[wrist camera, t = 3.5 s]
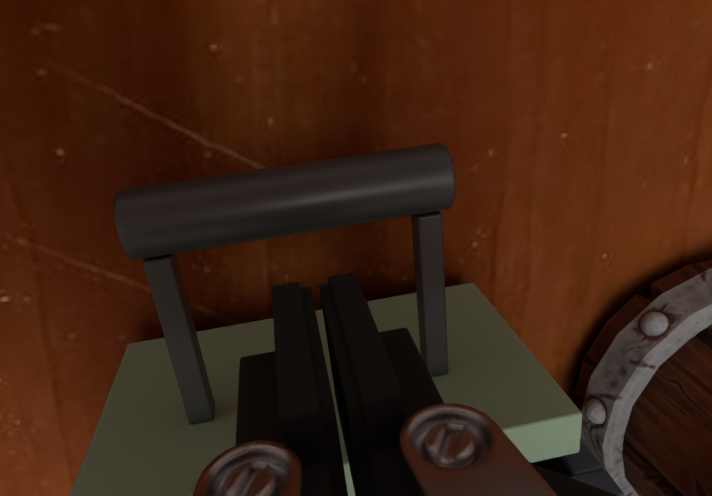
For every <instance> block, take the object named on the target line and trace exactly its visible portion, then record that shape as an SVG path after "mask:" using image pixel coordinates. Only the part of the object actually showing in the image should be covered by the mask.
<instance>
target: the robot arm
mask: <svg viewBox="0 0 712 496" xmlns="http://www.w3.org/2000/svg"><path fill="white" fill-rule="evenodd" d="M328 280H329V284H325V285H319V290H320V297H321V303H322V310H323V317H324V324H325V330H326V337H327V344H328V350H329V357H330V364H331V371H332V377H333V384H334V391H335V397H336V403H337V409H338V414H339V419H340V424H341V429H342V433H343V438H344V443H345V448H346V453H347V458H348V462H349V467H350V472H351V477H352V482H353V487H354V491H355V496H618V495H615V494H612V493H610V492H607V491H605V490H602V489H599V488H597V487H594V486H591V485H589V484H586V483H583V482H581V481H578V480H575V479H573V478H570V477H567V476H565V475H562V474H559V473H557V472H554V471H552V470H549V469H546V468H544V467H541V466H538V465H536V464H533V463H530V462H529V461H528V460H527V459H526V458H525V457H524V455H523V454H522V453H521V452H520V451H519V449H518V448H517V447H516V446H515V445H514V444H513V442H512V441H511V440H510V439H509V438H508V436H507V435H506V434H505V433H504V432H503V431H502V429H501V428H500V427H499V426H498V425H497V423H496V422H495V421H494V420H492V419H491V418H490V417H489V416H488V415H487V414H485V413H484V412H482V411H479V410H477V409H475V408H473V407H470V406H466V405H461V404H450V403H444V402H443V400H442V398H441V396H440V394H439V392H438V390H437V388H436V386H435V384H434V381H433V379H432V377H431V375H430V373H429V371H428V369H427V367H426V365H425V363H424V361H423V359H422V357H421V355H420V353H419V351H418V349H417V347H416V345H415V343H414V341H413V339H412V337H411V335H410V333H409V331H408V329H407V328H399V329H394V330H388V331H383V332H379V331H378V329H377V326H376V324H375V321H374V319H373V316H372V314H371V311H370V308H369V306H368V303H367V301H366V298H365V296H364V293H363V291H362V288H361V286H360V283H359V280H358V278H357V275H356V273H355V272H354V273H348V274H342V275H336V276H330V277H328ZM272 304H273V322H274V341H275V351H273V352H267V353H262V354H256V355H250V356H245V357H241V358H240V367H239V386H238V405H237V425H236V444H235V446H234V447H232V448H230V449H227V450H226V451H224V452H223V453H221V454H220V455H218V456H217V457H215V458H214V459H213V460H212V461H211V462H210V463H209V464H208V465H207V466H206V468H205V469H204V470H203V471H202V473H201V475H200V477H199V479H198V481H197V483H196V486H195V489H194V492H193V495H192V496H348V492H347V485H346V478H345V472H344V465H343V458H342V452H341V445H340V439H339V432H338V425H337V419H336V413H335V407H334V402H333V396H332V391H331V386H330V381H329V376H328V371H327V366H326V362H325V357H324V352H323V347H322V342H321V337H320V332H319V327H318V322H317V317H316V312H315V307H314V302H313V297H312V292H311V287H308V288H302V289H300V287H299V282H294V283H288V284H282V285H276V286H272Z"/></svg>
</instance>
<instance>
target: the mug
mask: <svg viewBox="0 0 712 496" xmlns="http://www.w3.org/2000/svg"><path fill="white" fill-rule="evenodd" d="M650 290H651V297H650V298H645V297H642V296H640V295H635V296H634V297H633V298H631V299H630V300H629V301H628V302H627V303H626V304H625V305H624V306H623V307H622V308H621V309H620V310H619V311H617V312H616V313H615V314H614V315H613V316H612V317H611V318H610V319H609V320H608V321H607V322H606V323H605V325H604V327H603V328H602V330H601V332H600V333H599V335H598V336H597V338H596V340H595V341H594V343H593V344H592V346H591V348H590V349H589V351H588V352H587V354H586V356H585V357H584V359H583V361H582V365H581V369H580V373H579V378H578V382H577V386H576V390H575V393H576V394H577V395H578V396H579V397H580V398H581V399H582V400H580V401H576V402H575V405H576V407H577V408H578V409H579V410H580V411H581V413H582V426H581V437H582V441H583V442H584V443H585V444H586V446H587V447H588V448H589V450H590V451H591V452H592V453H593V455H594V456H595V457H596V459H597V460H598V461H599V462H600V464H601V465H602V467H603V469H605V470H606V471H607V472H608V473H609V474H610V476H611V477H612V478H613V480H614V481H615V482H616V483H617V485H618V486H619V487H620V489H621V490H622V491H623V492H624V495H625V496H712V260H710V261H705V262H700V263H695V264H690V265H686V266H684V267H682V268H680V269H678V270H677V271H675V272H673V273H671V274H669V275H667V276H665V277H663V278H661V279H660V280H658V281H656V282H654V283H652V284H650Z"/></svg>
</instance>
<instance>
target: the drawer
mask: <svg viewBox="0 0 712 496" xmlns="http://www.w3.org/2000/svg"><path fill="white" fill-rule="evenodd" d="M455 192H456V181H455V172H454V167H453V163H452V160H451V157H450V154H449V152H448V150H447V148H446V147H445V146H444V145H443V144H440V143H435V144H429V145H422V146H415V147H408V148H401V149H394V150H387V151H381V152H374V153H367V154H360V155H353V156H346V157H340V158H333V159H326V160H319V161H312V162H305V163H298V164H292V165H285V166H278V167H271V168H264V169H257V170H251V171H244V172H237V173H230V174H223V175H216V176H209V177H203V178H196V179H189V180H182V181H175V182H168V183H162V184H155V185H148V186H141V187H134V188H127V189H121V190H120V191H118V192H117V193H116V196H115V201H114V218H115V225H116V230H117V234H118V237H119V240H120V243H121V245H122V248H123V250H124V251H125V253H126V255H127V256H128V257H129V258H130V259H133V260H138V259H144V261H143V265H144V268H145V272H146V275H147V279H148V282H149V286H150V289H151V292H152V296H153V299H154V303H155V306H156V310H157V313H158V317H159V320H160V324H161V327H162V330H163V334H164V338H158V339H153V340H147V341H142V342H136V343H130V344H128V345H127V348H126V350H125V353H124V356H123V358H122V361H121V364H120V366H119V369H118V371H117V374H116V377H115V379H114V382H113V385H112V387H111V390H110V392H109V395H108V398H107V400H106V403H105V405H104V408H103V411H102V413H101V416H100V419H99V421H98V424H97V426H96V429H95V432H94V434H93V437H92V440H91V442H90V445H89V447H88V450H87V453H86V455H85V458H84V460H83V463H82V466H81V468H80V471H79V474H78V476H77V479H76V481H75V484H74V487H73V489H72V492H71V495H70V496H192V495H193V492H194V489H195V486H196V483H197V481H198V479H199V477H200V475H201V473H202V471H203V470H204V469H205V468H206V466H207V465H208V464H209V463H210V462H211V461H212V460H213V459H214V458H215V457H217V456H218V455H220V454H221V453H223V452H224V451H226V450H227V449H230V448H232V447H234V446H235V444H236V425H237V405H238V386H239V367H240V358H241V357H245V356H250V355H256V354H262V353H267V352H273V351H275V341H274V322H273V318H271V319H265V320H260V321H254V322H248V323H243V324H237V325H231V326H226V327H220V328H215V329H209V330H203V331H198V332H196V329H195V325H194V321H193V318H192V314H191V310H190V306H189V302H188V298H187V295H186V291H185V287H184V283H183V279H182V275H181V272H180V268H179V264H178V260H177V256H176V253H182V252H188V251H194V250H201V249H207V248H213V247H219V246H225V245H232V244H238V243H244V242H250V241H256V240H263V239H269V238H275V237H281V236H287V235H294V234H300V233H306V232H312V231H319V230H325V229H331V228H337V227H343V226H350V225H356V224H362V223H368V222H374V221H381V220H387V219H393V218H399V217H405V216H411V220H412V235H413V250H414V265H415V280H416V293H411V294H406V295H400V296H394V297H389V298H383V299H377V300H372V301H367V303H368V306H369V308H370V311H371V314H372V316H373V319H374V321H375V324H376V326H377V329H378V331H379V332H383V331H388V330H394V329H399V328H407V329H408V331H409V333H410V335H411V337H412V339H413V341H414V343H415V345H416V347H417V349H418V351H419V353H420V355H421V357H422V359H423V361H424V363H425V365H426V367H427V369H428V371H429V373H430V375H431V377H432V379H433V381H434V384H435V386H436V388H437V390H438V392H439V394H440V396H441V398H442V400H443V402H444V403H450V404H461V405H466V406H470V407H473V408H475V409H477V410H479V411H482V412H484V413H485V414H487V415H488V416H489V417H490V418H491V419H492V420H494V421H495V422H496V423H497V425H498V426H499V427H500V428H501V429H502V431H503V432H504V433H505V434H506V435H507V436H508V438H509V439H510V440H511V441H512V442H513V444H514V445H515V446H516V447H517V448H518V449H519V451H520V452H521V453H522V454H523V455H524V457H525V458H526V459H527V460H528V461H529V462H530V463H534V462H538V461H543V460H547V459H552V458H556V457H561V456H565V455H570V454H574V453H578V452H579V451H580V439H581V426H582V413H581V411H580V410H579V409H578V408H577V407H576V405H575V404H574V403H573V402H572V401H571V399H570V398H569V397H568V396H567V394H566V393H565V392H564V391H563V390H562V388H561V387H560V386H559V385H558V384H557V382H556V381H555V380H554V379H553V378H552V376H551V375H550V374H549V373H548V372H547V370H546V369H545V368H544V367H543V366H542V364H541V363H540V362H539V361H538V360H537V358H536V357H535V356H534V355H533V354H532V352H531V351H530V350H529V349H528V348H527V346H526V345H525V344H524V343H523V342H522V340H521V339H520V338H519V337H518V336H517V334H516V333H515V332H514V331H513V330H512V328H511V327H510V326H509V325H508V324H507V322H506V321H505V320H504V319H503V317H502V316H501V315H500V314H499V313H498V311H497V310H496V309H495V308H494V307H493V305H492V304H491V303H490V302H489V301H488V299H487V298H486V297H485V296H484V295H483V293H482V292H481V291H480V290H479V289H478V287H477V286H476V285H475V284H474V283H467V284H462V285H456V286H450V287H445V277H444V254H443V230H442V214H441V213H440V212H439V211H443V210H448V209H450V208H451V207H452V206H453V203H454V200H455ZM315 312H316V317H317V322H318V327H319V332H320V337H321V342H322V347H323V352H324V357H325V362H326V366H327V371H328V376H329V381H330V386H331V391H332V396H333V402H334V407H335V413H336V419H337V425H338V432H339V439H340V445H341V452H342V458H343V465H344V472H345V478H346V485H347V492H348V496H355V491H354V487H353V482H352V477H351V472H350V467H349V462H348V458H347V453H346V448H345V443H344V438H343V433H342V429H341V424H340V419H339V414H338V409H337V403H336V397H335V391H334V384H333V377H332V371H331V364H330V357H329V350H328V344H327V337H326V330H325V324H324V317H323V310H322V309H321V310H316V311H315Z"/></svg>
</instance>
